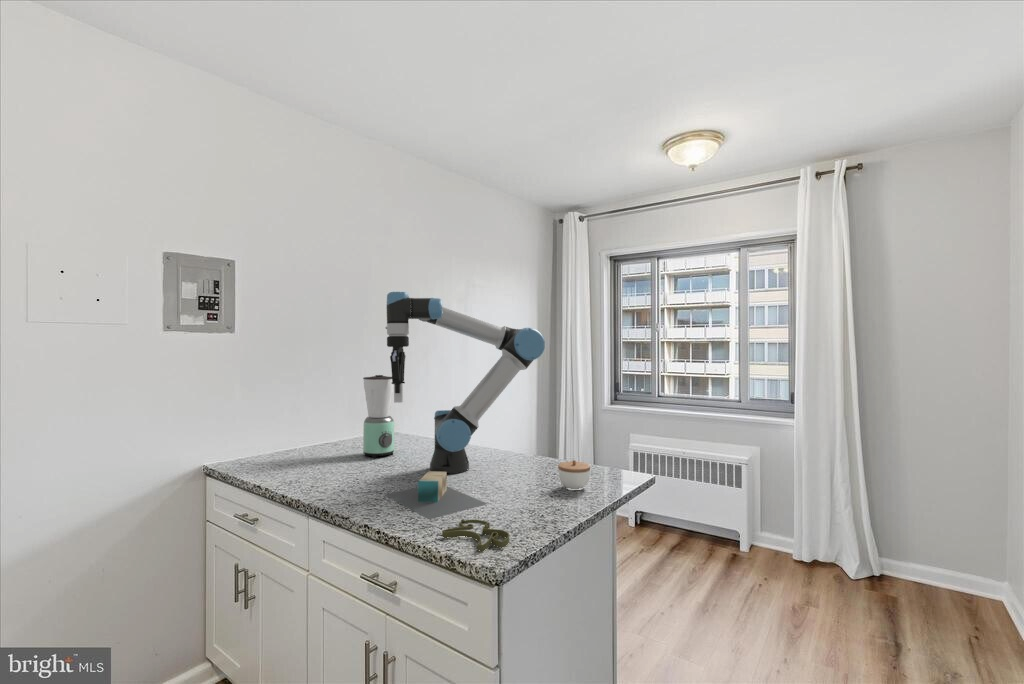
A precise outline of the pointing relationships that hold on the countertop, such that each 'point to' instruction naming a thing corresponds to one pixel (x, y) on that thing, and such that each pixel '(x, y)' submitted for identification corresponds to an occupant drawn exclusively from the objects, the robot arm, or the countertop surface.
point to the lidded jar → (574, 474)
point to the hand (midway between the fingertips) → (398, 402)
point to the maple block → (432, 486)
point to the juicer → (378, 417)
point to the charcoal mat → (446, 504)
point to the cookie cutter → (492, 532)
